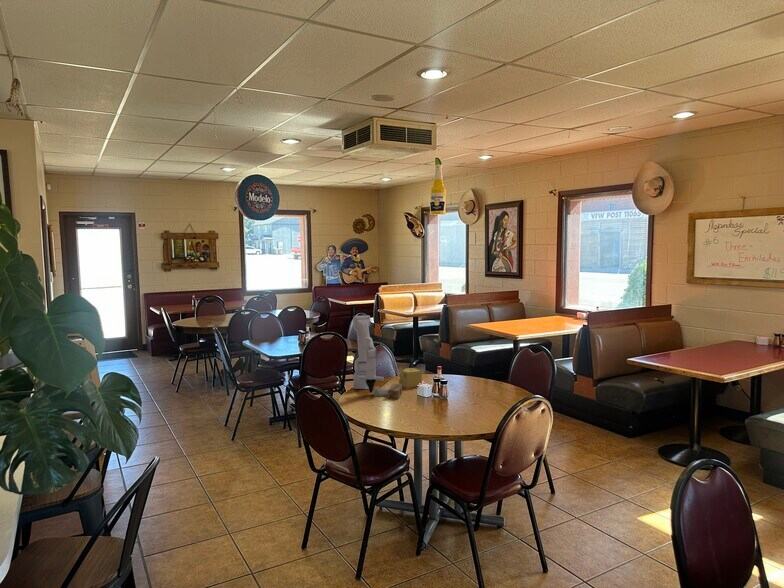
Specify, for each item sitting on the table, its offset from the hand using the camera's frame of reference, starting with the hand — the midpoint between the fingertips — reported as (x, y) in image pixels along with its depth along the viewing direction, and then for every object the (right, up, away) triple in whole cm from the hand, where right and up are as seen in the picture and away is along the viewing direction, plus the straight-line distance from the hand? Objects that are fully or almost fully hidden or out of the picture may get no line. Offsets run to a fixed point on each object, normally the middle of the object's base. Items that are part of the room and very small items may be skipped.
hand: (371, 392), depth 315 cm
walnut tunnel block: (+14, -2, -2) cm, 14 cm away
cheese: (+24, 0, +20) cm, 31 cm away
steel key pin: (+9, -2, -1) cm, 9 cm away
